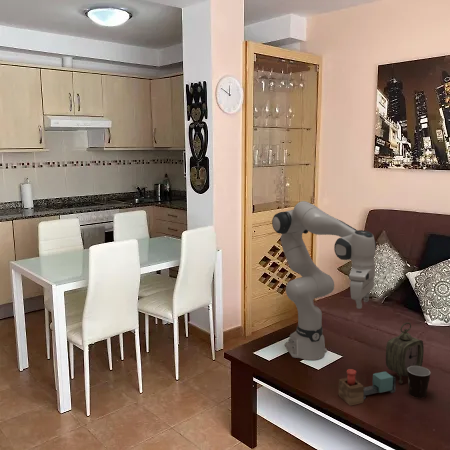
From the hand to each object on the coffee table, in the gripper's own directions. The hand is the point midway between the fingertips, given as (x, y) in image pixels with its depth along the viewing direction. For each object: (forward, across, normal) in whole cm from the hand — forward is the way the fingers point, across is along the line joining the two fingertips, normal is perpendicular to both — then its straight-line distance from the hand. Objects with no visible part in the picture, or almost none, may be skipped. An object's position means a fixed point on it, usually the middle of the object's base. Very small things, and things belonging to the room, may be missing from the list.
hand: (362, 304), depth 187 cm
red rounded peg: (+30, +10, -1) cm, 32 cm away
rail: (+36, +1, +6) cm, 37 cm away
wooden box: (+36, +10, -1) cm, 38 cm away
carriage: (+35, -1, +8) cm, 36 cm away
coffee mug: (+37, -6, +20) cm, 42 cm away
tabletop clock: (+36, -18, +12) cm, 43 cm away
